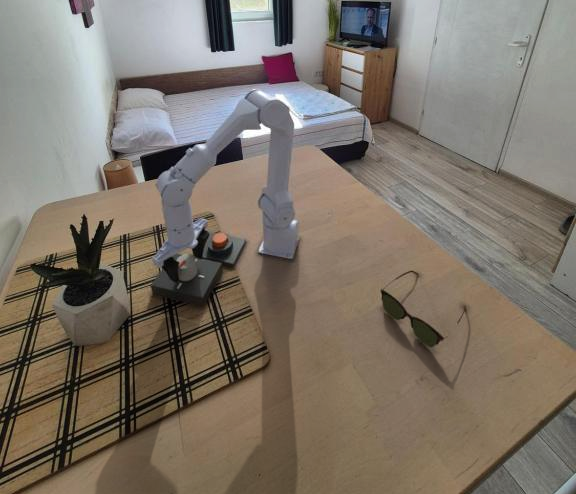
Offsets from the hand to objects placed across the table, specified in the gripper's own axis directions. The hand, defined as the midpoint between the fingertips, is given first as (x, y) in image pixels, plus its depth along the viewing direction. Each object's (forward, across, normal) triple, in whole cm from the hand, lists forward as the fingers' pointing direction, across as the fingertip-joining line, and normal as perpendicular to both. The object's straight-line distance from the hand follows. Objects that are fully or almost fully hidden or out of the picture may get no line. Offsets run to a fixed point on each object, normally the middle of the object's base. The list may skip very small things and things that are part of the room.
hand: (186, 268), depth 76 cm
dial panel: (+5, 0, 0) cm, 5 cm away
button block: (+5, +12, 0) cm, 13 cm away
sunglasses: (+5, +21, -50) cm, 55 cm away
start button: (+2, +12, 0) cm, 12 cm away
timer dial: (+2, 0, 0) cm, 2 cm away
